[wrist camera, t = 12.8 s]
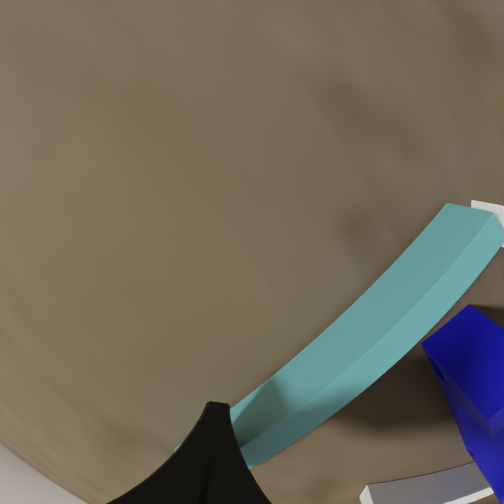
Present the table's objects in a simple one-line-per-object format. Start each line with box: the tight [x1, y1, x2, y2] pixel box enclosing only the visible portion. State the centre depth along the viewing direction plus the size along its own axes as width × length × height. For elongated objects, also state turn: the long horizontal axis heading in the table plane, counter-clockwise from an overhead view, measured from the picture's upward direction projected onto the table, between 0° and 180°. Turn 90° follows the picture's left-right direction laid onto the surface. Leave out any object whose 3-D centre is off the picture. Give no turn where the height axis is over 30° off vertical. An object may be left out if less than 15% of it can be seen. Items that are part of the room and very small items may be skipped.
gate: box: [174, 203, 504, 469], centre depth 11 cm, size 17×1×3 cm, turn 136°
